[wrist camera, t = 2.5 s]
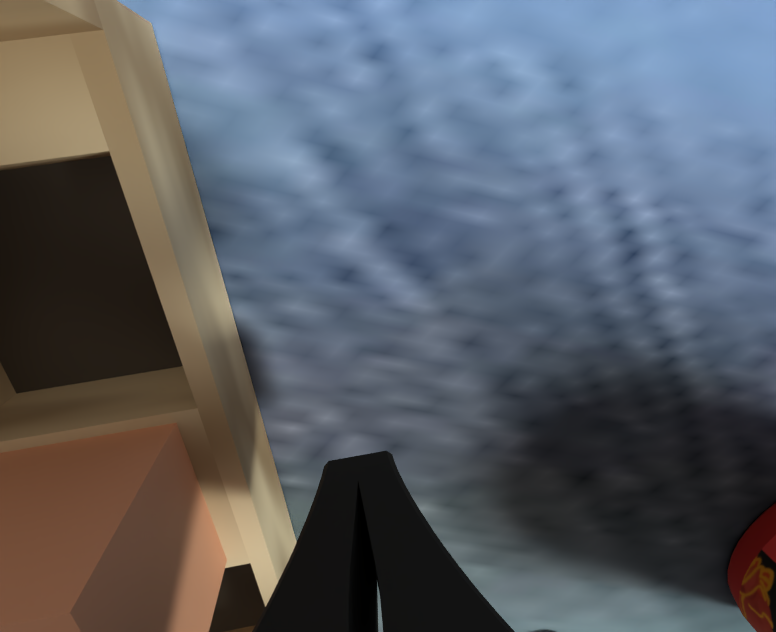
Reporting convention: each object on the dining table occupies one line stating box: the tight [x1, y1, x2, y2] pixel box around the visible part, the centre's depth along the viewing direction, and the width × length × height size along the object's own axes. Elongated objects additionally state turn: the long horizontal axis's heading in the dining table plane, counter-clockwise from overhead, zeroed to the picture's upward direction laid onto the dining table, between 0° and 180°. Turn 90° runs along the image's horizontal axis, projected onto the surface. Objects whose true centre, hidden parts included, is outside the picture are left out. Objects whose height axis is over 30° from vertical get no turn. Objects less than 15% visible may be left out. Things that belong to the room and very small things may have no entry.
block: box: [0, 423, 227, 632], centre depth 8 cm, size 4×4×4 cm
